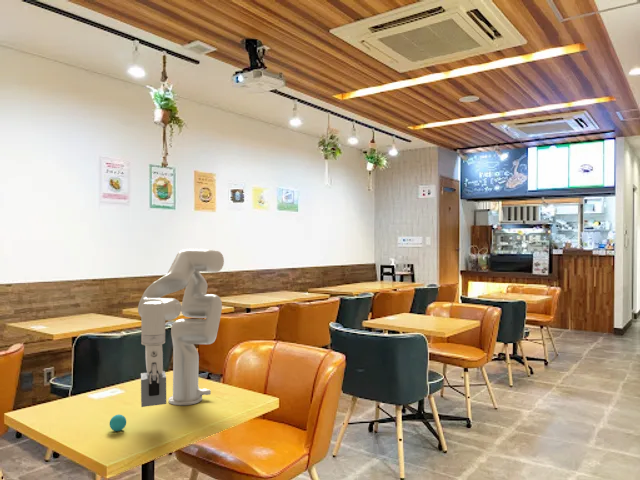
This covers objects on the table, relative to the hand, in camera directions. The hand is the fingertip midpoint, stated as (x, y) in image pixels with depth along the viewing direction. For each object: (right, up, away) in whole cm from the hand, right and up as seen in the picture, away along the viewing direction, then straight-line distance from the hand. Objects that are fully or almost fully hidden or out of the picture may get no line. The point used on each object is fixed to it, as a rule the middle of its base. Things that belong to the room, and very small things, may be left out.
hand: (153, 391), depth 164 cm
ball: (-10, -9, -5) cm, 14 cm away
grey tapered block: (0, -4, 0) cm, 4 cm away
